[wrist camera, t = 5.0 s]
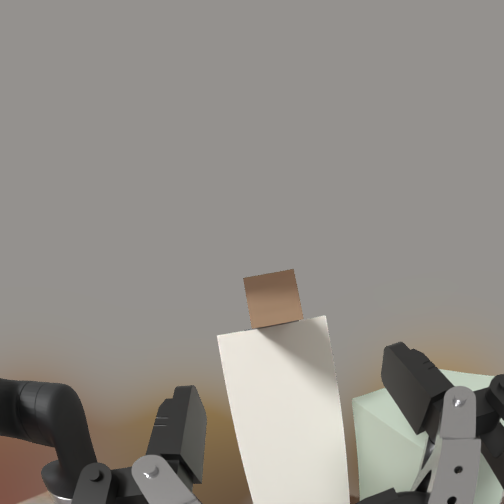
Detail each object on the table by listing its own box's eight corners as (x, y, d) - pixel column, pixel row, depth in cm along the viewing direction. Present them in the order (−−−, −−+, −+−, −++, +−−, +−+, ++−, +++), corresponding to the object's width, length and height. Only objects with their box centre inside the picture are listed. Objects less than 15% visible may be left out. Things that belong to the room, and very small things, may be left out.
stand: (350, 564, 14) (325, 314, 24) (277, 578, 13) (216, 334, 24) (334, 523, 25) (305, 318, 35) (274, 535, 25) (231, 332, 35)
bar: (303, 318, 15) (293, 268, 16) (252, 328, 15) (243, 278, 16) (278, 324, 38) (274, 304, 39) (258, 327, 38) (254, 307, 39)
